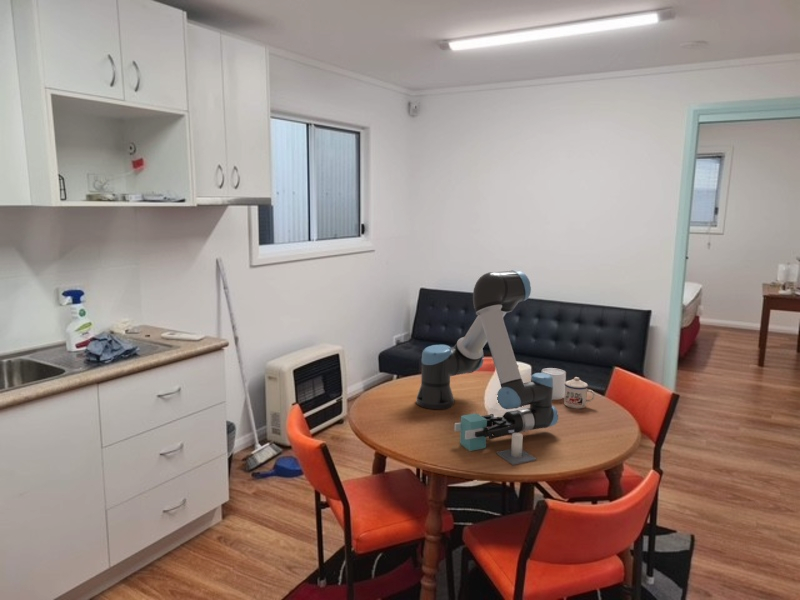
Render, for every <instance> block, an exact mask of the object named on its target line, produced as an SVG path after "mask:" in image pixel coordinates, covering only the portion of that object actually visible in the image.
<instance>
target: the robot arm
mask: <svg viewBox="0 0 800 600" xmlns="http://www.w3.org/2000/svg"><path fill="white" fill-rule="evenodd" d="M531 292H532V287H531V282H530V279H529V277H528V276H527V274H526V273H525V272H523V271H520V270H515V269H514V270H513V269H512V270H507V271H506V270H504V271H492V272H491V271H490V272H486V273H484V274H483V275H481V276H480V277H478V280H477V281H476V283H475V285H474V287H473V292H472V301H473V302H472V303H473V309H474V311H475V315H477V316H476V318H475V320H474V321H473V323H472V324H471V326H470V327H469V329H468V330H467V332H466V334H465V336H463V337H460V338H459V339H457V342H456V343H455V345H454V346H450V345H447V344H432V345H429V346H427V347H425V348H424V349H423V350H422V353H421V354H422V355H421V375H420V376H421V382H420V383H421V384H420V387H419V390H418V392H417V396H416V404H417V405H418V406H419V407H421V408H424V409H429V410H446V409H449V408H451V407H453V406H454V403H455V398H454V394H453V392H452V388H451V377H454V376H459V375H464V374H473V373H474V372H476V371H477V372H478V371H479V370H480V368H482V366H483V364H484V350H483V348H484V347H485V345H486V344H487V345H488V347H489V352H490V353H491V358H492V360H493V361H492V362H493V364H494V367H495V370H496V373H497V378H498V380H499V384H500V389H499V390H498V391H497V392H496V393H497V394H496V395H498V397H497V400H498V403H499V404H498V405H499V406H500V407H501V408H503V409H504V410H511V411H506V412H504V414H503V415H502V416H497V417H496V416H494V413H490V414H486V415H481V416H482V417H484V418H485V419H487V427H484V431H483V428H479V429H473V430H467V431H465V439H472V438H477V437H483V436H484V437H486V438H488V439H490V440H493V439H497V438H500V437H505V436H510V435H511V436H512V433H521V432H523V433H526V431H528V432H529V431H532V430H538V429H546V428H550V427H553V426H555V425H556V424H557V423H558V421H559V414H558V409H557V408H556V407H555V406H554V405H553V399H552V393H553V378H552V376H551V375H549V374H545V373H541V372H535V373H533V374H532V375H531V378H530V381H528V382H523V379H522V375H521V373H520V369H519V365H518V364H517V359H516V357H515V353H514V350H513V346H512V344H511V339H510V337H509V334H508V331H507V327H506V324H505V320H504V317H505V315H506V314H507V313H510V312H511V313H512V311H514V309H515V308H516V306H518V303H520V302H521V303H522V302H525V301H526V300H528V299H529V297H530V296H531ZM522 406H523V407H525V406H529V407H527V408H523V407H522ZM518 408H522V409H518ZM513 409H515V410H513ZM453 430H454V431H453V432H461V421H460V422H455V423H454V429H453Z"/></svg>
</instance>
